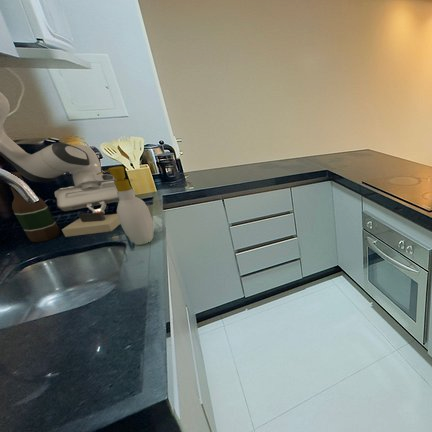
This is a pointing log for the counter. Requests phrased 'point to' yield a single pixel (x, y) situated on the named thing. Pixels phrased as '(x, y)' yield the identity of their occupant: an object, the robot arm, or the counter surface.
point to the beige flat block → (92, 226)
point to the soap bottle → (131, 210)
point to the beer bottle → (34, 217)
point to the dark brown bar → (92, 217)
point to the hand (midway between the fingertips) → (99, 214)
